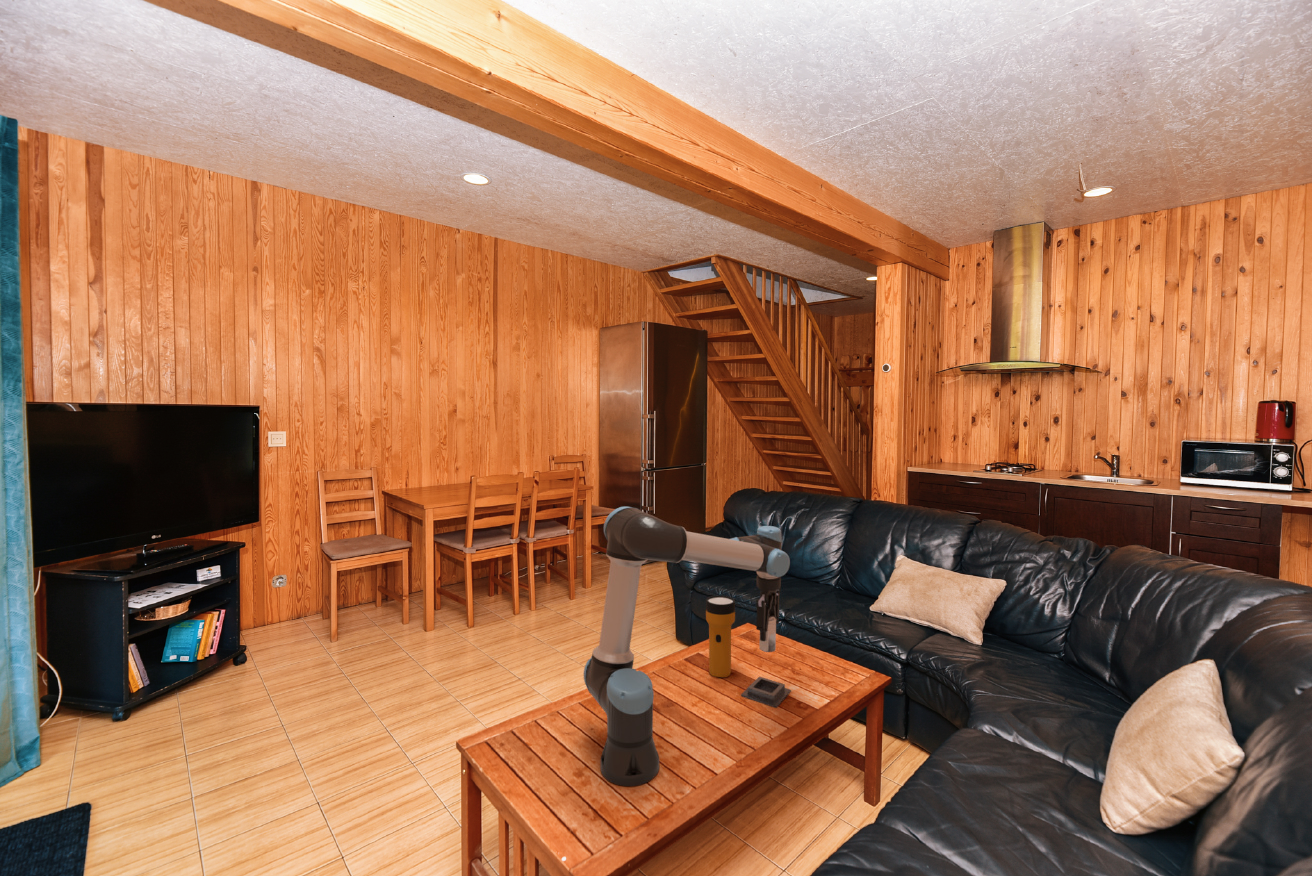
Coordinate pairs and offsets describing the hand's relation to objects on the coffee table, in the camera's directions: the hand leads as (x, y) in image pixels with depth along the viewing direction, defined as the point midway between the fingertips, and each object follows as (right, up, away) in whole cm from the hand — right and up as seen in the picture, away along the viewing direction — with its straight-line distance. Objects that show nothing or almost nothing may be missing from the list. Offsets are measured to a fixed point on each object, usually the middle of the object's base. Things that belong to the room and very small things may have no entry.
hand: (767, 646), depth 180 cm
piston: (0, -1, 0) cm, 1 cm away
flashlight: (-13, -15, +15) cm, 25 cm away
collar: (0, -16, +1) cm, 16 cm away
